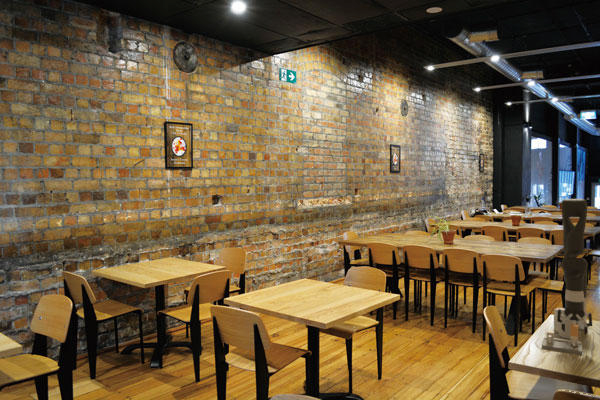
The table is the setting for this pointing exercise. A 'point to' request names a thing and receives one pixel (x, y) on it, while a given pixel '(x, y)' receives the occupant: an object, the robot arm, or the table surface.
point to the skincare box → (556, 324)
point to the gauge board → (560, 344)
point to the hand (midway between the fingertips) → (574, 332)
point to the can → (566, 327)
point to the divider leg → (574, 335)
